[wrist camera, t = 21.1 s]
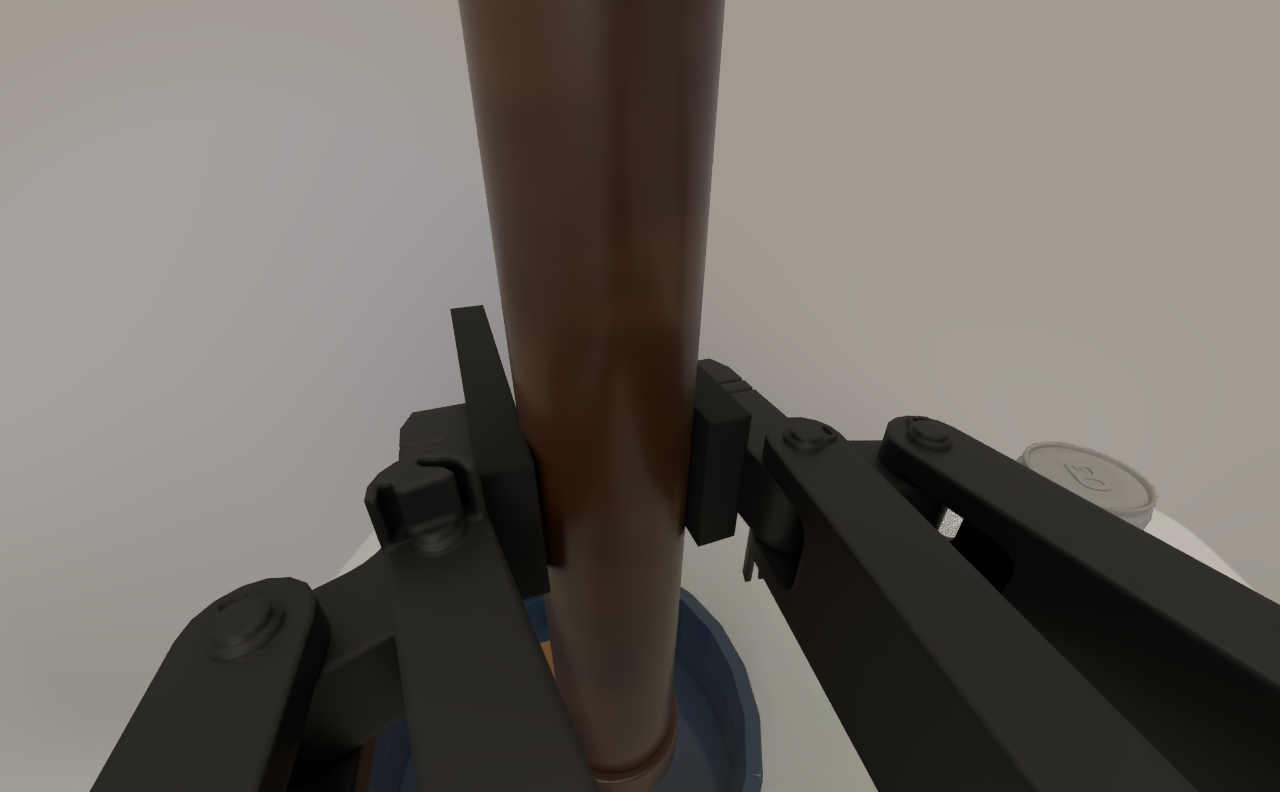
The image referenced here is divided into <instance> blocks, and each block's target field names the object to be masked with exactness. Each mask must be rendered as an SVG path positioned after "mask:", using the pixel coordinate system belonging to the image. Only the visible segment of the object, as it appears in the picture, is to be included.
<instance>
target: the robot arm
mask: <svg viewBox="0 0 1280 792" xmlns="http://www.w3.org/2000/svg"><path fill="white" fill-rule="evenodd" d="M450 310H451V316H452V322H453V328H454V334H455V341H456V347H457V353H458V359H459V365H460V371H461V377H462V383H463V390H464V396H465V401H466V403H464V404H458V405H453V406H447V407H441V408H436V409H430V410H424V411H419V412H413V413H412V414H411V415H410V417H409V418H408V419H407V421H406V422H405V424H404V425H403V426H402V428H401V429H400V445H399V446H400V450H399V461H397V462H395V463H394V464H392V465H391V466H389V467H388V468H386V469H385V470H383V471H382V472H380V473H379V474H378V475H377V476H376V477H375V478H374V480H373V481H372V482H371V483H370V484H369V486H368V487H367V491H366V495H365V500H364V502H365V505H366V508H367V510H368V513H369V516H370V518H371V521H372V524H373V526H374V529H375V532H376V534H377V537H378V540H379V543H380V545H381V549H380V550H379V551H378V552H377V553H376V554H375V555H373V556H372V557H371V558H370V559H368V560H367V561H366V562H365V563H363V564H362V565H360V566H358V567H356V568H355V569H353V570H351V571H350V572H348V573H346V574H344V575H342V576H340V577H338V578H336V579H334V580H332V581H330V582H328V583H326V584H324V585H322V586H320V587H318V588H316V589H314V590H312V589H311V588H310V587H309V585H308V584H307V583H305V582H303V581H300V580H297V579H294V578H291V577H285V578H268V579H264V580H261V581H258V582H255V583H251V584H248V585H245V586H242V587H240V588H238V589H236V590H234V591H232V592H231V593H229V594H227V595H225V596H223V597H221V598H219V599H218V600H216V601H214V602H213V603H212V604H211V605H209V606H208V607H207V608H206V609H204V610H203V611H202V612H201V613H199V614H198V615H197V616H196V617H195V618H193V619H192V620H191V621H190V622H189V624H188V625H187V626H186V627H185V629H184V630H183V631H182V632H181V634H180V635H179V636H178V638H177V639H176V640H175V641H174V643H173V645H172V646H171V648H170V650H169V652H168V653H167V655H166V657H165V659H164V661H163V662H162V664H161V666H160V668H159V669H158V671H157V673H156V675H155V677H154V678H153V680H152V682H151V684H150V685H149V687H148V689H147V691H146V692H145V694H144V696H143V698H142V700H141V702H140V703H139V705H138V707H137V708H136V711H135V712H134V714H133V716H132V717H131V719H130V721H129V723H128V724H127V726H126V728H125V730H124V732H123V733H122V735H121V737H120V739H119V741H118V742H117V744H116V746H115V748H114V749H113V751H112V753H111V755H110V757H109V758H108V760H107V762H106V764H105V765H104V767H103V769H102V771H101V772H100V774H99V776H98V778H97V780H96V781H95V783H94V785H93V787H92V788H91V790H90V792H368V789H369V783H370V776H371V770H372V764H373V758H374V752H375V746H376V739H377V735H378V734H379V733H380V732H382V731H383V730H385V729H386V728H388V727H389V726H391V725H392V724H394V723H395V722H397V721H398V720H399V719H401V718H402V717H404V716H405V715H406V716H407V723H408V730H409V737H410V744H411V751H412V758H413V765H414V772H415V778H416V785H417V792H601V791H600V788H599V786H598V783H597V781H596V778H595V776H594V774H593V771H592V769H591V766H590V764H589V761H588V759H587V756H586V754H585V752H584V749H583V747H582V744H581V742H580V739H579V737H578V734H577V732H576V730H575V727H574V725H573V722H572V720H571V717H570V715H569V712H568V710H567V708H566V705H565V703H564V700H563V698H562V695H561V693H560V690H559V688H558V686H557V683H556V681H555V678H554V676H553V673H552V671H551V668H550V666H549V664H548V661H547V659H546V656H545V654H544V651H543V649H542V646H541V644H540V642H539V639H538V637H537V634H536V632H535V629H534V627H533V624H532V622H531V620H530V617H529V615H528V612H527V610H526V607H525V605H524V602H523V600H527V599H530V598H533V597H536V596H540V595H543V594H546V593H549V592H551V590H550V582H549V575H548V567H547V559H546V552H545V544H544V536H543V529H542V521H541V513H540V506H539V498H538V490H537V482H536V475H535V467H534V462H533V459H532V456H531V453H530V449H529V446H528V443H527V440H526V437H525V436H524V434H523V433H522V431H521V429H520V427H519V422H518V415H517V409H516V406H515V403H514V400H513V397H512V394H511V391H510V387H509V385H508V382H507V378H506V375H505V372H504V369H503V366H502V363H501V360H500V357H499V354H498V350H497V347H496V344H495V341H494V338H493V335H492V332H491V329H490V325H489V322H488V319H487V316H486V313H485V310H484V307H483V305H480V306H472V307H463V308H455V309H450ZM948 508H949V509H950V510H952V511H953V512H955V513H956V514H958V515H959V516H960V517H962V518H963V521H962V523H961V525H960V528H959V530H958V532H957V534H956V536H955V537H954V538H949V537H945V536H944V535H942V534H940V533H939V532H938V530H939V527H940V525H941V523H942V521H943V518H944V516H945V514H946V512H947V509H948ZM737 513H739V514H740V516H741V517H742V518H743V519H744V521H745V522H746V523H747V525H748V526H749V527H750V530H749V536H748V542H747V548H746V554H745V560H744V566H743V575H744V579H745V582H748V581H751V577H752V572H753V566H754V562H755V564H756V565H757V567H758V569H759V571H758V579H763V578H764V580H765V582H766V584H767V586H768V588H769V590H770V591H771V593H772V595H773V597H774V599H775V601H776V603H777V604H778V606H779V608H780V610H781V612H782V614H783V616H784V617H785V619H786V621H787V623H788V625H789V627H790V629H791V630H792V632H793V634H794V636H795V638H796V640H797V642H798V643H799V645H800V647H801V649H802V651H803V653H804V655H805V656H806V658H807V660H808V662H809V664H810V666H811V668H812V669H813V671H814V673H815V675H816V677H817V679H818V681H819V682H820V684H821V686H822V688H823V690H824V692H825V694H826V695H827V697H828V699H829V701H830V703H831V705H832V707H833V708H834V710H835V712H836V714H837V716H838V718H839V720H840V721H841V723H842V725H843V727H844V729H845V731H846V733H847V734H848V736H849V738H850V740H851V742H852V744H853V746H854V747H855V749H856V751H857V753H858V755H859V757H860V759H861V760H862V762H863V764H864V766H865V768H866V770H867V772H868V773H869V775H870V777H871V779H872V781H873V783H874V785H875V786H876V788H877V790H878V792H1280V605H1279V604H1277V603H1275V602H1273V601H1272V600H1270V599H1268V598H1266V597H1264V596H1262V595H1261V594H1259V593H1257V592H1255V591H1253V590H1251V589H1250V588H1248V587H1246V586H1244V585H1242V584H1240V583H1239V582H1237V581H1235V580H1233V579H1231V578H1229V577H1228V576H1226V575H1224V574H1222V573H1220V572H1218V571H1217V570H1215V569H1213V568H1211V567H1209V566H1207V565H1206V564H1204V563H1202V562H1200V561H1198V560H1196V559H1195V558H1193V557H1191V556H1189V555H1187V554H1185V553H1183V552H1182V551H1180V550H1178V549H1176V548H1174V547H1172V546H1171V545H1169V544H1167V543H1165V542H1163V541H1161V540H1160V539H1158V538H1156V537H1154V536H1152V535H1150V534H1149V533H1147V532H1145V531H1143V530H1141V529H1139V528H1138V527H1136V526H1134V525H1132V524H1130V523H1128V522H1127V521H1125V520H1123V519H1121V518H1119V517H1117V516H1116V515H1114V514H1112V513H1110V512H1108V511H1106V510H1105V509H1103V508H1101V507H1099V506H1097V505H1095V504H1094V503H1092V502H1090V501H1088V500H1086V499H1084V498H1083V497H1081V496H1079V495H1077V494H1075V493H1073V492H1071V491H1070V490H1068V489H1066V488H1064V487H1062V486H1060V485H1059V484H1057V483H1055V482H1053V481H1051V480H1049V479H1048V478H1046V477H1044V476H1042V475H1040V474H1038V473H1037V472H1035V471H1033V470H1031V469H1029V468H1027V467H1026V466H1024V465H1022V464H1020V463H1018V462H1016V461H1015V460H1013V459H1011V458H1009V457H1007V456H1005V455H1003V454H1002V453H1000V452H998V451H996V450H994V449H992V448H991V447H989V446H987V445H985V444H983V443H982V442H980V441H978V440H976V439H974V438H972V437H971V436H969V435H967V434H965V433H963V432H961V431H959V430H958V429H956V428H953V427H952V426H949V425H947V424H945V423H943V422H940V421H937V420H933V419H930V418H928V417H922V416H903V417H897V418H895V419H893V420H892V421H890V422H889V423H888V425H887V428H886V431H885V434H884V437H883V440H881V441H880V440H879V441H847V440H846V439H845V438H844V437H843V436H842V435H841V434H840V433H839V432H837V431H836V430H835V429H833V428H832V427H831V426H829V425H826V424H824V423H821V422H819V421H816V420H812V419H807V418H802V417H797V418H795V417H793V418H787V417H786V416H785V415H784V414H783V413H781V412H780V411H779V410H778V409H777V408H776V407H775V406H773V405H772V404H771V403H770V402H769V401H768V400H767V399H765V398H764V397H763V396H762V395H761V394H759V393H758V392H757V391H756V390H753V389H752V387H751V386H750V385H749V384H748V383H747V382H746V381H742V378H741V377H740V376H739V375H737V374H736V373H735V372H734V371H733V370H732V369H730V368H729V367H728V366H725V365H723V364H721V363H719V362H716V361H714V360H711V359H704V360H698V363H697V376H696V389H695V402H694V415H693V428H692V442H691V455H690V468H689V481H688V494H687V507H686V521H685V526H686V528H687V529H688V531H689V532H690V534H691V536H692V537H693V539H694V540H695V542H696V544H697V545H698V547H699V546H702V545H705V544H708V543H712V542H715V541H718V540H722V539H725V538H728V537H731V536H734V533H735V527H736V520H737Z"/></svg>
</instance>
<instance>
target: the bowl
mask: <svg viewBox="0 0 1280 792" xmlns="http://www.w3.org/2000/svg"><path fill="white" fill-rule="evenodd" d="M523 602H524V605H525V607H526V610H527V612H528V615H529V617H530V620H531V622H532V624H533V627H534V629H535V632H536V634H537V637H538V639H539V642H540V643H542V642H545V641H548V640H550V639H549V632H548V625H547V618H546V611H545V604H544V597H543V595H540V596H536V597H533V598H530V599H527V600H523ZM673 690H674V692H675V695H676V699H677V704H678V729H677V740H676V748H675V753H674V757H673V760H672V763H671V765H670V768H669V770H668V771H667V773H666V775H665V777H664V778H663V779H662V781H661V782H660V783H659V784H658V785H657V786H656V787H655V788H654V789H653V790H652V791H651V792H761V787H762V782H763V781H762V778H763V768H762V748H761V727H760V715H759V712H758V709H757V705H756V702H755V698H754V695H753V692H752V688H751V685H750V681H749V678H748V675H747V671H746V668H745V666H744V664H743V662H742V660H741V658H740V657H739V655H738V653H737V651H736V650H735V648H734V646H733V644H732V643H731V641H730V639H729V638H728V636H727V634H726V632H725V631H724V629H723V627H722V626H721V625H720V623H719V622H718V621H717V620H716V619H715V618H714V617H713V616H712V615H711V614H710V613H709V612H708V611H707V610H706V608H705V607H704V606H703V605H702V604H701V603H700V602H699V601H698V600H697V599H696V598H695V597H694V596H693V595H692V594H691V593H690V592H688V591H686V590H685V589H683V588H682V587H680V600H679V613H678V626H677V639H676V652H675V665H674V679H673ZM368 792H417V785H416V778H415V772H414V765H413V758H412V751H411V744H410V737H409V730H408V723H407V716H406V715H405V716H404V717H402V718H401V719H399V720H398V721H397V722H395V723H394V724H392V725H391V726H389V727H388V728H386V729H385V730H383V731H382V732H380V733H379V734H378V735H377V739H376V746H375V752H374V758H373V764H372V770H371V776H370V783H369V789H368Z"/></svg>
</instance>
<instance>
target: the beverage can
mask: <svg viewBox="0 0 1280 792" xmlns="http://www.w3.org/2000/svg"><path fill="white" fill-rule="evenodd" d="M1016 462H1018V463H1020V464H1022V465H1024V466H1026V467H1027V468H1029V469H1031V470H1033V471H1035V472H1037V473H1038V474H1040V475H1042V476H1044V477H1046V478H1048V479H1049V480H1051V481H1053V482H1055V483H1057V484H1059V485H1060V486H1062V487H1064V488H1066V489H1068V490H1070V491H1071V492H1073V493H1075V494H1077V495H1079V496H1081V497H1083V498H1084V499H1086V500H1088V501H1090V502H1092V503H1094V504H1095V505H1097V506H1099V507H1101V508H1103V509H1105V510H1106V511H1108V512H1110V513H1112V514H1114V515H1116V516H1117V517H1119V518H1121V519H1123V520H1125V521H1127V522H1128V523H1130V524H1132V525H1134V526H1136V527H1138V528H1139V529H1141V530H1144V528H1145V527H1146V525H1147V524H1148V523H1149V521H1150V520H1151V517H1152V512H1153V509H1152V508H1153V507H1154V506H1155V505H1156V503H1157V499H1158V495H1157V493H1156V490H1155V488H1154V487H1153V485H1152V484H1150V482H1149V481H1148V480H1147V479H1146V478H1145V477H1143V476H1142V475H1141V474H1140V473H1138V472H1137V471H1136V470H1134V469H1133V468H1131V467H1129V466H1128V465H1126V464H1124V463H1122V462H1121V461H1119V460H1116V459H1114V458H1112V457H1110V456H1108V455H1106V454H1103V453H1100V452H1097V451H1095V450H1092V449H1089V448H1085V447H1081V446H1077V445H1074V444H1068V443H1061V442H1040V443H1035V444H1033V445H1031V446H1029V447H1027V448H1026V450H1025V452H1024V453H1023V455H1022V456H1020V457H1019V458H1018V459H1017V460H1016Z"/></svg>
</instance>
